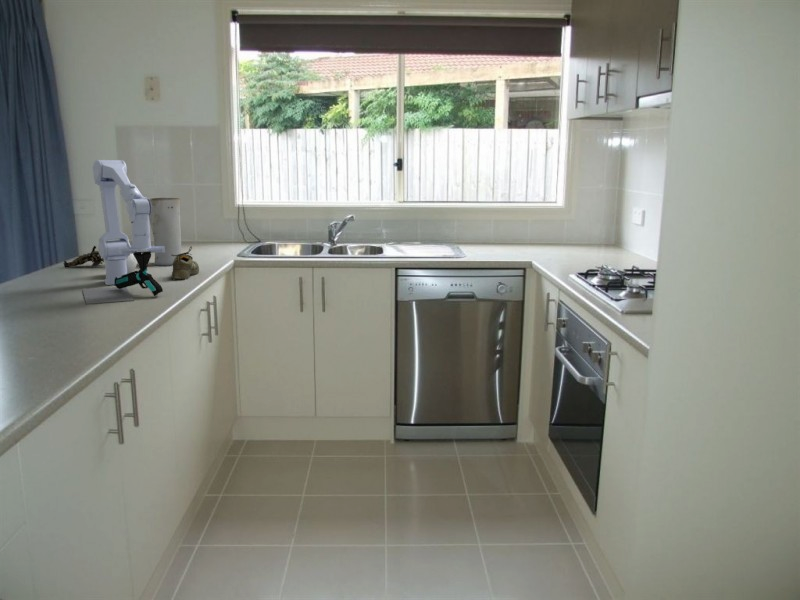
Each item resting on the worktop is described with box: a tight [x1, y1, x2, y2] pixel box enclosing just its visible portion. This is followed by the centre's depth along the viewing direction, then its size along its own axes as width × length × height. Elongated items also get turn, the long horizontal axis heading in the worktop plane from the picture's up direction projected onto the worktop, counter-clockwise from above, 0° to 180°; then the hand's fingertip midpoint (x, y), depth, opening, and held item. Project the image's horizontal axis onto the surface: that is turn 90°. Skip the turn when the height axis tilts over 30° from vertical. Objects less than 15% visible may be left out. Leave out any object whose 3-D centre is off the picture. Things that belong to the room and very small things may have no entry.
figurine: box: [63, 245, 104, 269], centre depth 277 cm, size 10×8×18 cm
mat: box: [82, 286, 135, 305], centre depth 224 cm, size 24×14×1 cm, turn 27°
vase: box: [149, 197, 183, 267], centre depth 286 cm, size 13×14×28 cm
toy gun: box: [114, 268, 164, 297], centre depth 228 cm, size 3×20×10 cm, turn 59°
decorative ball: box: [103, 254, 138, 274], centre depth 259 cm, size 12×12×12 cm
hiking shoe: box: [171, 246, 200, 281], centre depth 261 cm, size 8×20×12 cm, turn 2°
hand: (143, 274), depth 228 cm, fingers closed
